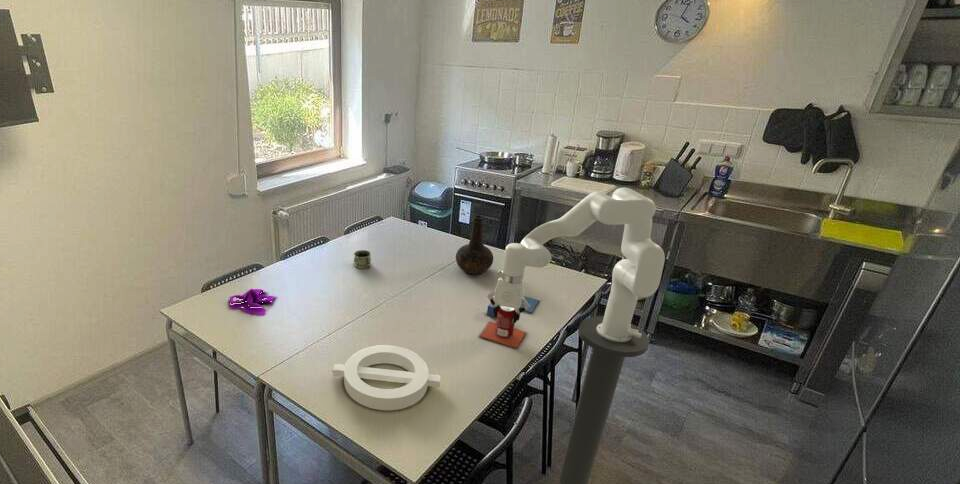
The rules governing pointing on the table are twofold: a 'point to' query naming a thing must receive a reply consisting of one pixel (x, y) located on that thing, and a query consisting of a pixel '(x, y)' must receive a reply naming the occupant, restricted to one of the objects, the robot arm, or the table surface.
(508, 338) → the orange mat
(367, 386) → the white circle with bar
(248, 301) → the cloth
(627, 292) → the robot arm
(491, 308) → the blue block
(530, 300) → the blue mat
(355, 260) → the vessel
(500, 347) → the table surface
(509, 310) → the soda can
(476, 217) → the brown vase
